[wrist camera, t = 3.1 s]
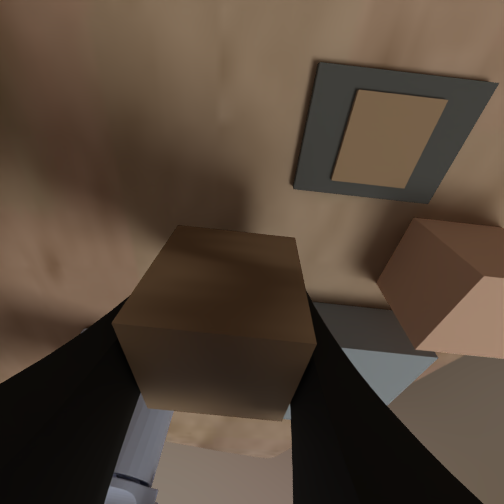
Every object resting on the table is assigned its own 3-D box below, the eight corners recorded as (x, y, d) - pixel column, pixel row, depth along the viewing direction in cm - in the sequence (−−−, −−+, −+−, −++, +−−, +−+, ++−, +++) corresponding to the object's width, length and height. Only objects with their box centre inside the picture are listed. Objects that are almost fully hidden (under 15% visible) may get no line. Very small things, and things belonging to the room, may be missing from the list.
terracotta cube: (375, 282, 15) (415, 349, 11) (413, 216, 13) (483, 276, 8) (446, 289, 15) (511, 359, 11) (500, 226, 13) (612, 290, 8)
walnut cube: (186, 304, 12) (147, 408, 8) (178, 224, 9) (111, 322, 5) (276, 314, 12) (281, 421, 8) (294, 237, 10) (316, 344, 5)
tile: (292, 186, 12) (294, 190, 11) (318, 63, 9) (321, 61, 8) (423, 201, 12) (430, 205, 11) (490, 83, 9) (503, 82, 8)
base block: (240, 370, 24) (236, 414, 21) (250, 291, 17) (246, 337, 14) (350, 382, 24) (364, 427, 21) (405, 307, 17) (438, 357, 14)
